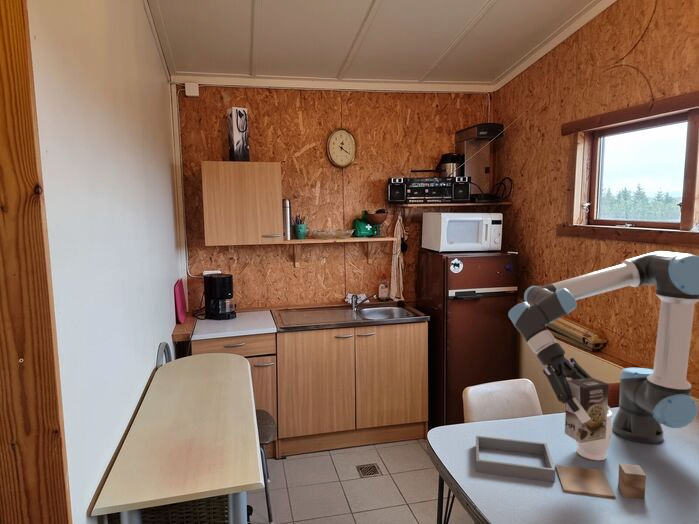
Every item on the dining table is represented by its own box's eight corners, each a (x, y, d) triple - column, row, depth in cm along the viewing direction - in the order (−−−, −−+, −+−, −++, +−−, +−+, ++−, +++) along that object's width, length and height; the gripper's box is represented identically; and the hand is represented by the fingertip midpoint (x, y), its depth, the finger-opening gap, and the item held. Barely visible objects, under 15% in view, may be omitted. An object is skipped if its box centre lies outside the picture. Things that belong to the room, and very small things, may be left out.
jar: (568, 454, 146) (570, 410, 144) (578, 442, 153) (580, 400, 152) (605, 466, 139) (607, 419, 137) (614, 453, 146) (616, 409, 145)
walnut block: (637, 489, 128) (639, 465, 127) (644, 499, 123) (646, 475, 122) (618, 486, 129) (619, 463, 128) (623, 497, 124) (625, 473, 123)
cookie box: (581, 444, 126) (583, 388, 124) (563, 433, 132) (565, 379, 130) (607, 438, 128) (609, 383, 127) (588, 428, 134) (591, 376, 133)
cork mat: (602, 472, 136) (602, 470, 136) (615, 498, 123) (615, 496, 123) (555, 466, 139) (555, 464, 139) (563, 491, 127) (563, 489, 127)
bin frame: (546, 453, 147) (546, 443, 146) (555, 481, 131) (555, 470, 131) (475, 445, 152) (475, 435, 152) (476, 471, 137) (476, 460, 137)
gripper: (558, 348, 147) (606, 411, 136) (516, 362, 134) (565, 433, 123) (575, 335, 142) (626, 400, 131) (532, 348, 129) (585, 421, 118)
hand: (596, 416), depth 127 cm, fingers closed on cookie box, 10 cm apart
